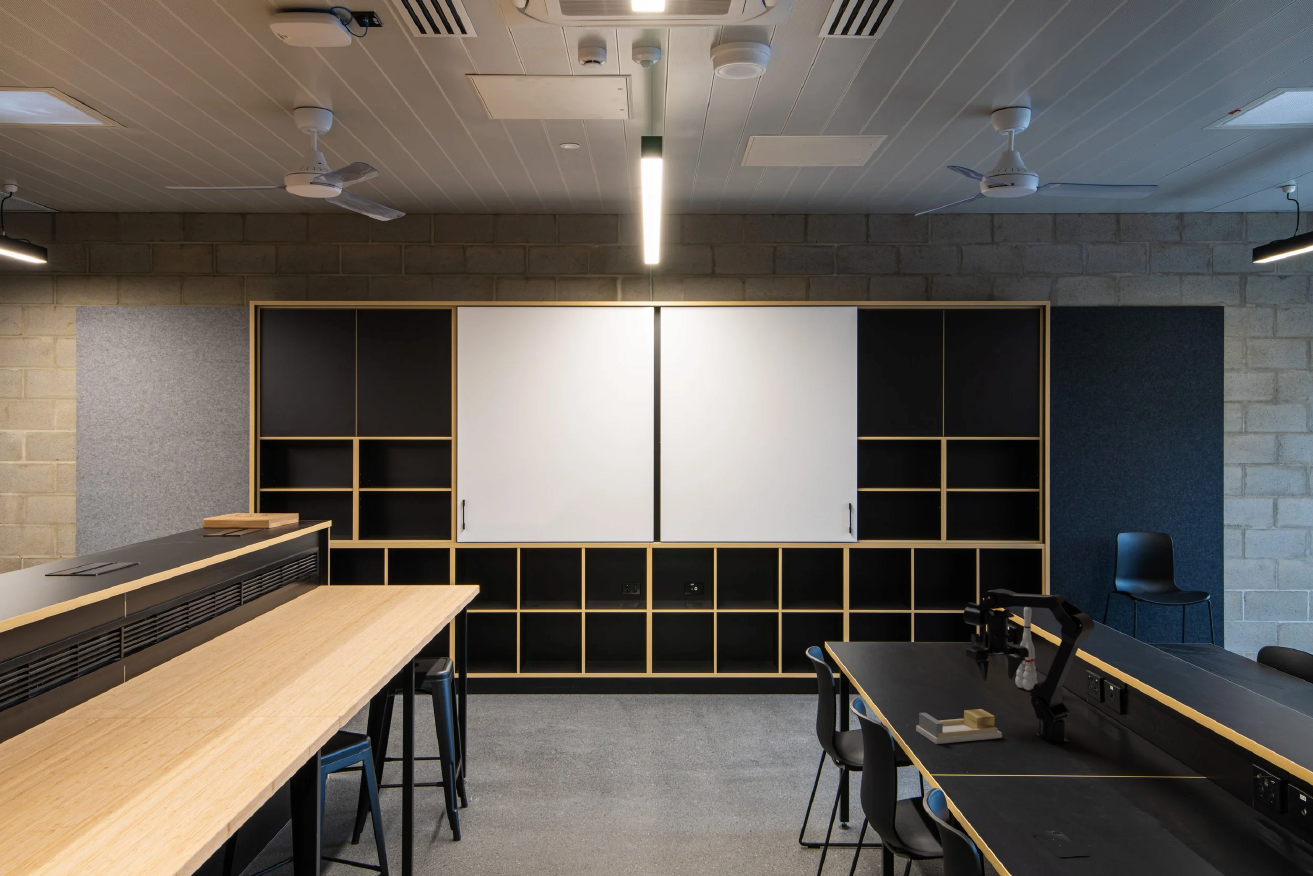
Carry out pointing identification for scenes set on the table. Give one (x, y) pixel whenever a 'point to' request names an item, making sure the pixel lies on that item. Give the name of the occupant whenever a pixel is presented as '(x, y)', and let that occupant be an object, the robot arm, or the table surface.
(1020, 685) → the rocket model
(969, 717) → the block
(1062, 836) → the solid state drive
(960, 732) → the track
